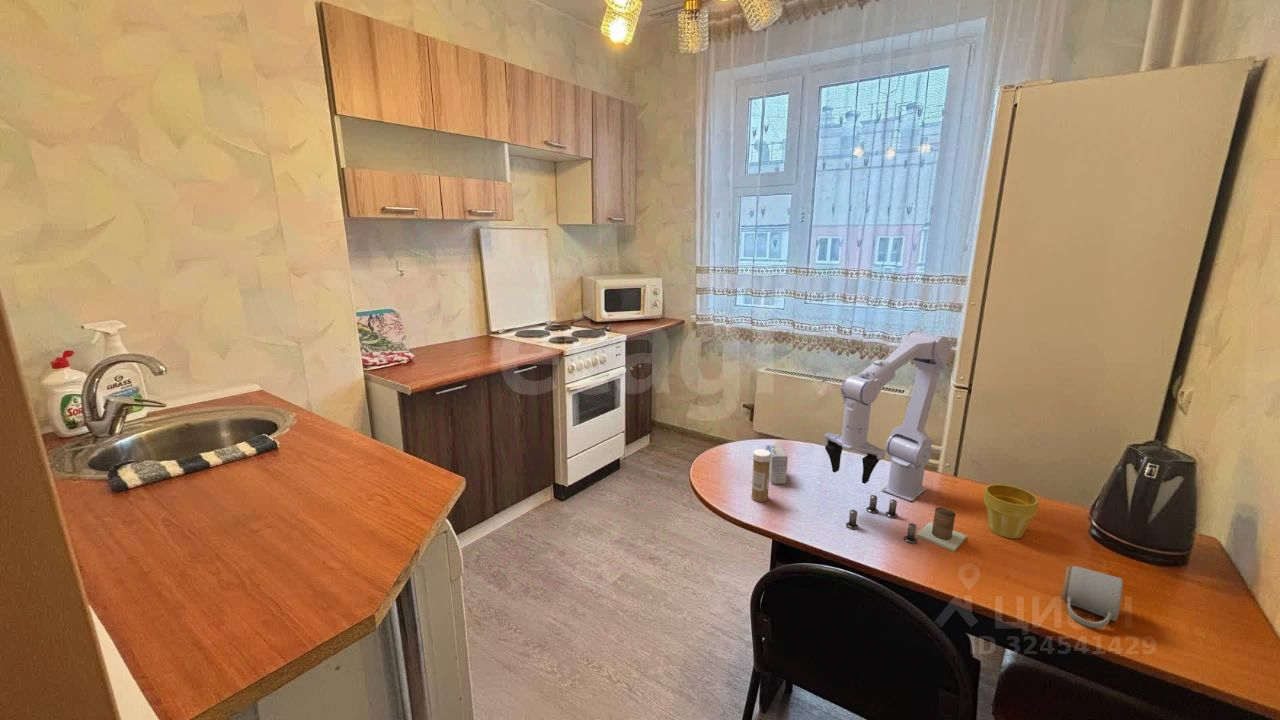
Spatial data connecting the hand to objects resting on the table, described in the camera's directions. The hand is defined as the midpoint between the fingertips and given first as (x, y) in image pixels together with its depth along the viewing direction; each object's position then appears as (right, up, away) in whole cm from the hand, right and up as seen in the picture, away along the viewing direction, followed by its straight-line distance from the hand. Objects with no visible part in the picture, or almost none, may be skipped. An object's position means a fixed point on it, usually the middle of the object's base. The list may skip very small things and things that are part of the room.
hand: (850, 476), depth 126 cm
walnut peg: (+18, -12, -8) cm, 23 cm away
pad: (+18, -13, -7) cm, 23 cm away
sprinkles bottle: (-20, -8, +10) cm, 24 cm away
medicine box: (-13, -6, +22) cm, 26 cm away
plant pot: (+35, -12, -5) cm, 37 cm away
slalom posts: (+8, -12, -3) cm, 14 cm away
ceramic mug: (+32, -19, -31) cm, 48 cm away
